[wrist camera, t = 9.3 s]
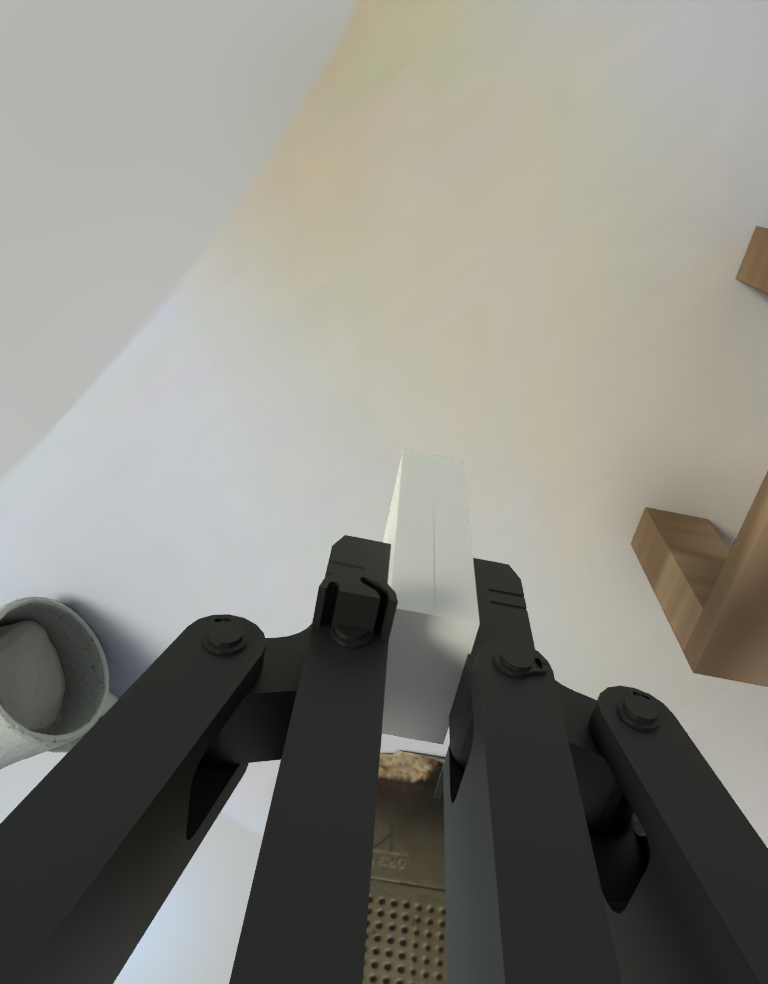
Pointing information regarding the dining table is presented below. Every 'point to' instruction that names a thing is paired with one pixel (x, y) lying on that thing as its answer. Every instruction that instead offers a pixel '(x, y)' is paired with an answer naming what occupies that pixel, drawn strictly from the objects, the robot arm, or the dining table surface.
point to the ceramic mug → (48, 679)
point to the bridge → (715, 565)
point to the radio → (407, 875)
